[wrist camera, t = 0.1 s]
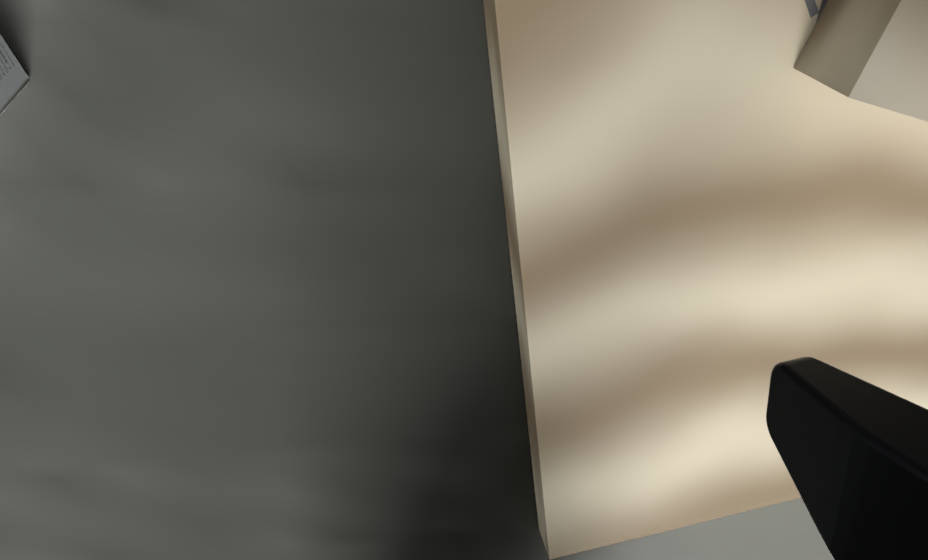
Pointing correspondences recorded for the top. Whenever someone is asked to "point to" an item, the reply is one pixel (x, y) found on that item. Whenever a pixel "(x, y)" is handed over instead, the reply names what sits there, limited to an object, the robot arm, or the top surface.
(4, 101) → the light bulb box
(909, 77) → the block
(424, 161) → the top surface
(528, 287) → the plywood board
